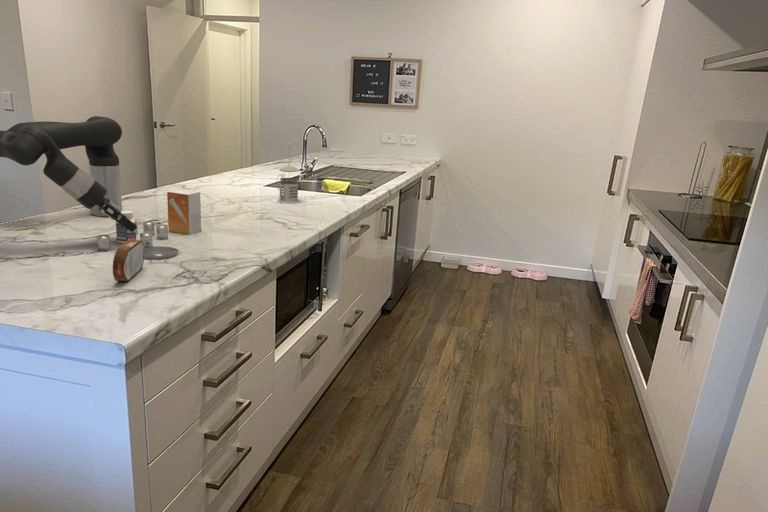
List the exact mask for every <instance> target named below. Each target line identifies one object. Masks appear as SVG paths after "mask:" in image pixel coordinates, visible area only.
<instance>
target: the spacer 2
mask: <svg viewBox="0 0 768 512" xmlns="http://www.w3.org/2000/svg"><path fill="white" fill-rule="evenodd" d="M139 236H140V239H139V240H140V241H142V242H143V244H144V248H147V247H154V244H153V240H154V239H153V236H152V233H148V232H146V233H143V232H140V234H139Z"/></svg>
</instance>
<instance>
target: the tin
mask: <svg viewBox="0 0 768 512" xmlns="http://www.w3.org/2000/svg"><path fill="white" fill-rule="evenodd" d="M144 262H145V259H144V244H143V242H142V241H140V239H136V240H133V239H130V240H128V241H127V242H126V243H122V244H121V245H119V246H118V247H117V249H116V250H115V253H114V255H113V260H112V275H113V279H114V280H115V281H116V282H119V281H120V282H129V281H131V280H132V279H133V278H134V277H135V276H136V275H137V274H138V273H139V272H141V271H142V268H143V266H144Z"/></svg>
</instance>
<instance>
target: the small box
mask: <svg viewBox="0 0 768 512" xmlns="http://www.w3.org/2000/svg"><path fill="white" fill-rule="evenodd" d="M166 193H167V194H166V196H167V221H168V222H167V223H168V224H167V227H168V232H174V233H178V234H183V233H184V235H188V234H190V235H193V234H196V233H198V232H201V231H202V218H201V217H202V214H201V213H202V211H201V210H202V209H201V191H196V190H195V191H194V190H189V189H181V188H177V189H173V190H169V191H167V192H166ZM192 233H193V234H192Z"/></svg>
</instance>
